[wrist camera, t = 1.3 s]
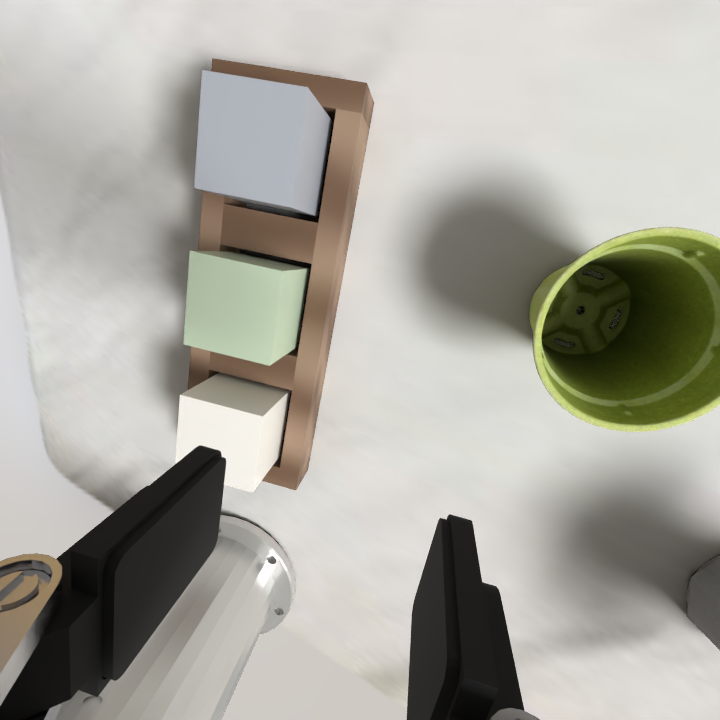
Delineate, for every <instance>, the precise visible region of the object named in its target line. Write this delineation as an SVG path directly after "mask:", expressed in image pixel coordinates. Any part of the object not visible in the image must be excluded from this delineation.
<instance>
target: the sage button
mask: <svg viewBox="0 0 720 720" xmlns="http://www.w3.org/2000/svg"><path fill="white" fill-rule="evenodd" d="M309 269H310V268H306V267H301V266H296V265H292V264H287V263H283V262H278V261H273V260H269V259H264V258H259V257H255V256H250V255H246V254H241V253H236V252H224V251H190V254H189V269H188V283H187V298H186V313H185V327H184V342H183V344H184V345H188V346H192V347H196V348H200V349H204V350H208V351H212V352H216V353H220V354H224V355H228V356H232V357H236V358H240V359H244V360H248V361H252V362H256V363H260V364H264V365H269V366H270V365H272V364H273V363H275V362H276V361H277V360H279V359H280V358H282V357H283V356H285V355H286V354H288V353H289V352H291V351H292V350H293V349H295V348H296V347H297V346H298V339H299V333H300V326H301V320H302V314H303V307H304V301H305V294H306V288H307V281H308V275H309Z"/></svg>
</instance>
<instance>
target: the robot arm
mask: <svg viewBox="0 0 720 720" xmlns="http://www.w3.org/2000/svg"><path fill="white" fill-rule="evenodd" d="M225 470H226V458H224V457H222V454H221V451H220V450H216V449H213V448H209V447H205V446H202V445H199V446H197V447H196V448H195V449H193V450H192V451H191V452H190V453H189V454H187V455H186V456H185V457H184V458H182V459H181V460H180V461H179V462H178V463H176V464H175V465H174V466H173V467H171V468H170V469H169V470H168V471H167V472H165V473H164V474H163V475H162V476H161V477H159V478H158V479H157V480H156V481H154V482H153V483H152V484H151V485H150V486H146V487H145V488H143V489H142V490H140V491H139V492H138V493H137V494H136V495H134V496H133V497H132V498H131V499H129V500H128V501H127V502H126V503H124V504H123V505H122V506H121V507H120V508H118V509H117V510H116V511H115V512H113V513H112V514H111V515H110V516H109V517H107V518H106V519H105V520H104V521H102V522H101V523H100V524H99V525H97V526H96V527H95V528H94V529H92V530H91V531H90V532H89V533H88V534H86V535H85V536H84V537H83V538H81V539H80V540H79V541H78V542H76V543H75V544H74V545H73V546H72V547H70V548H69V549H68V550H67V551H66V552H64V553H63V554H62V555H61V556H59V557H58V558H57V559H55V558H53V557H51V556H49V555H43V554H25V555H19V556H16V557H11V558H8V559H5V560H2V561H1V562H0V720H221V719H222V717H223V715H224V712H225V710H226V708H227V706H228V704H229V701H230V699H231V697H232V695H233V693H234V690H235V688H236V686H237V683H238V681H239V679H240V677H241V675H242V672H243V670H244V668H245V666H246V663H247V661H248V659H249V657H250V654H251V652H252V650H253V648H254V646H255V643H256V641H257V639H258V637H259V634H263V633H266V632H268V631H270V630H272V629H274V628H275V627H276V626H278V625H279V624H280V623H281V622H282V621H283V620H284V618H285V617H286V615H287V614H288V612H289V610H290V607H291V605H292V602H293V600H294V595H295V591H296V590H295V576H294V572H293V568H292V566H291V563H290V561H289V559H288V557H287V555H286V554H285V553H284V551H283V550H282V548H281V547H280V546H279V545H278V544H277V542H276V541H275V540H274V539H273V538H272V537H271V536H269V535H268V534H267V533H265V532H264V531H263V530H262V529H260V528H258V527H257V526H255V525H253V524H251V523H249V522H247V521H244V520H241V519H239V518H236V517H230V516H225V515H221V506H222V497H223V488H224V479H225ZM407 720H540V719H538V718H537V717H535V716H533V715H531V714H529V713H527V712H525V711H524V707H523V702H522V697H521V692H520V688H519V683H518V678H517V673H516V668H515V663H514V659H513V654H512V649H511V644H510V639H509V635H508V630H507V625H506V620H505V615H504V611H503V606H502V601H501V596H500V593H499V590H498V588H497V587H496V586H493V585H489V584H486V583H483V582H482V579H481V573H480V567H479V561H478V554H477V548H476V542H475V536H474V529H473V524H472V521H471V520H468V519H464V518H461V517H457V516H453V515H448V517H447V520H446V519H442V518H440V519H439V521H438V524H437V527H436V531H435V534H434V537H433V540H432V544H431V547H430V550H429V554H428V557H427V560H426V563H425V567H424V570H423V573H422V576H421V580H420V583H419V586H418V590H417V593H416V596H415V600H414V604H413V611H412V625H411V646H410V666H409V686H408V707H407Z"/></svg>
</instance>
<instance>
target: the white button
mask: <svg viewBox="0 0 720 720" xmlns="http://www.w3.org/2000/svg"><path fill="white" fill-rule="evenodd" d="M290 391H291V390H288V389H284V388H280V387H276V386H272V385H268V384H264V383H260V382H256V381H252V380H249V379H245V378H241V377H237V376H233V375H229V374H225V373H221V372H220V373H218V374H216V375H214V376H212V377H211V378H209V379H207V380H205V381H204V382H202V383H200V384H198V385H196V386H195V387H193V388H191V389H189V390H187V391H186V392H184V393H182V394H180V400H179V415H178V430H177V444H176V459H175V464H176V463H178V462H179V461H180V460H181V459H182V458H184V457H185V456H186V455H187V454H189V453H190V452H191V451H192V450H193V449H195V448H196V447H197V446H199V445H202V446H205V447H209V448H213V449H216V450H220V451H221V454H222V457H224V458H226V470H225V479H224V485H227V486H230V487H234V488H237V489H241V490H244V491H248V492H251V493H253V491H254V490H255V489H256V487H257V486H258V485H259V483H260V482H261V481H262V479H263V478H264V477H265V475H266V474H267V473H268V471H269V470H270V469H271V467H272V466H273V465H274V463H275V462H276V461H277V459H278V458H279V457H280V455H281V448H282V442H283V436H284V429H285V423H286V416H287V410H288V403H289V397H290Z"/></svg>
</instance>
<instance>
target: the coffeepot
mask: <svg viewBox="0 0 720 720" xmlns="http://www.w3.org/2000/svg"><path fill="white" fill-rule="evenodd" d="M687 605H688V611H687V617H688V618H689V619H690V620H691V621H692V622H693V623H694V624H695V625H696V626H697V627H698V628H699V629H700V630H701V631H702V632H703V633H704V634H705V635H706V636H707V637H708V638H709V639H710V640H711V642H712V643H713V644H714V645H715V646H716V647H717V648H718V649H719V650H720V555H718V556H716V557H714V558H713V559H711V560H709V561H708V562H707V563H705V564H704V565H703V566H701V567H700V568H699V570H698V571H697V572H696V573H695V574H694V575H693V576H692V577H691V579H690V582H689V585H688V589H687Z"/></svg>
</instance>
